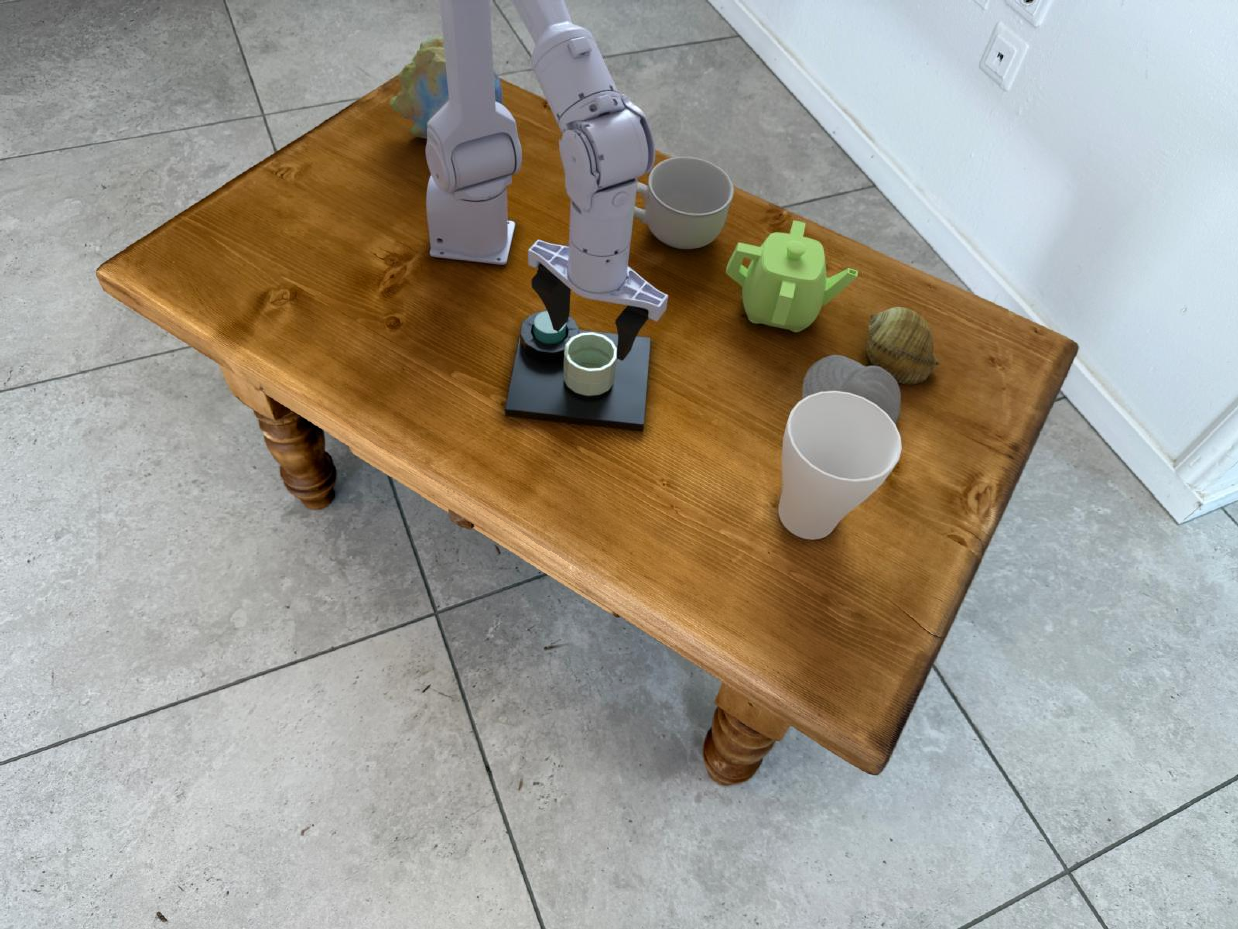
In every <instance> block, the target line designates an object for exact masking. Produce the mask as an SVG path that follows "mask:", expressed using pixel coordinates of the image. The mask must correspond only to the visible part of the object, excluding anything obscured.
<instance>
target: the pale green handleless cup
mask: <svg viewBox="0 0 1238 929" xmlns="http://www.w3.org/2000/svg"><path fill="white" fill-rule="evenodd" d="M594 332H595V331H594ZM594 332H589V333H580V334H578V335H576V336H574V337H572V338H571V339H570V340H569V341H568V342H567V343H566V345H565V352H564V373H563V379H564V381H565V383H566V385H567V386H568V387H569V388H570V389H571V390H573V391H574V392H575V393H578V394H582V395H586V396H591V395H600V394H602V393H604V392H606V391H608V390H609V389H610V388H611V386H612V385H613V384H614V379H615V370H616V362H617V357H616V351H617V348H616V346H615V344H614V343H613V341H612V340H610V339H609V338H607V337H606V336H605V335H602V334H598V333H594Z"/></svg>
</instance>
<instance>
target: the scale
mask: <svg viewBox="0 0 1238 929" xmlns="http://www.w3.org/2000/svg"><path fill="white" fill-rule="evenodd" d="M544 311H547V309H545V310H540V311H536V312H533V313H531V314H530V315H529V316H527V318H525V319H524V320H523V321H522V322H521V326H520V331H519V336H518V341H517V346H516V351H515V355H514V361H513V365H512V366H513V367H512V372H511V376H510V381H509V386H508V390H507V396H506V401H505V406H504V416H505V417H509V418H517V419H519V418H520V419H529V420H537V421H546V422H553V423H554V422H556V423H564V424H574V425H580V426H581V425H582V426H589V427H600V428H609V429H617V430H618V429H619V430H625V431H627V430H628V431H636V432H644V428H645V420H646V407H647V393H648V384H649V383H648V382H649V381H648V380H649V369H650V358H651V357H650V356H651V343H652V338H651V337H647V336H638V335H637V336H636V338H635V341H634V343H633V346H632V349H631V351H630V352H629V354H628V355H627V356H626V357H625V359H624V360H623V361H621V360H619V359H617V362H616V370H615V379H614V384H613V385H612V386H611V388H610V389H609V390H608V391H606V392H604V393H602V394H600V395H591V396H586V395H582V394H578V393H575V392H574V391H573V390H571V389H570V388H569V387H568V386H567V385H566V383H565V381H564V379H563V373H564V352H565V345H566V343H567V342H568V341H569V340H570V339H571V338H572V337H574V336H576V335H578V334H580V333H589V332H594V333H598V334H602V335H605V336H606V337H607V338H609V339H610V340H612V341H613V343H614V344H615V346H616V348H617V345H618V333H611V332H601V331H594V330H585V329H580V328H579V326H578V323H577V322H576V321H575V319H574V318H573V317H571V316H570V315H569V318H568V321H567V322H566V335H565V338H564V339H563V340H562V341H561V342H559V343H557V344H552V345H550V344H544V343H541V342H539V341H538V340H537V339H536V338H535V336H534V319H535V317H536V316H537V315H538V314H539V313H541V312H544Z"/></svg>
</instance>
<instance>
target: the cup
mask: <svg viewBox="0 0 1238 929" xmlns="http://www.w3.org/2000/svg"><path fill="white" fill-rule="evenodd" d="M782 437H783V438H782V446H781V447H782V449H781V481H782V482H781V494H780V499H779V503H778V517H779V520H780V522H781V523H782V525H783V527H784V528H785V529H786V530H787V531H789V533H790V534H793V535H794V536H796V537H798V538H801V539H804V540H812V541H813V540H820V539H823V538H825V537H827V536H829V535H830V534H831V533H832V532H833V531H834V530H835V528H836V527H837V526H838V524H839V523H840V522H841V520H843V519H844V518H845V517H846V516H847V515H849V513H850V512H852V511H853V510H854V509H855V508H856V507H858V506H859V505H860V504H862V503H864V502H865V501H866V500H867V499H868V498H869V497H870V496H871V495H873V494H874V493H875V491H876V490H878V489H879V488H880V487H881V486H882V485H883V483H884V482H885V481H886V479H887V478H888V476H890V474H891V472H892V471H893V470H894V468H895V467H896V465H898V462H899V461H900V457H901V454H902V449H903V447H902V437H901V434H900V432H899V430H898V427H897V424H896V425H895V423H894V422H893V421H892V420H891V418H890V417H889V416H888V414H887V413H886V412H884V411H883V410H882V409H881V408H880V407H878V406H877V405H876V404H874V403H872V402H871V401H869V400H867V399H865V398H863V397H861V396H857V395H854V394H851V393H847V392H840V391H826V392H819V393H816V394H813V395H809V396H807V397H806V398H804V399H801V400H799V401H798V402H797V403H796V404H795V405H794V407H793V408H792V409H791V410H790V413H789V416H788V419H787V422H786V425H785V429H784V433H783V436H782Z"/></svg>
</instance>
